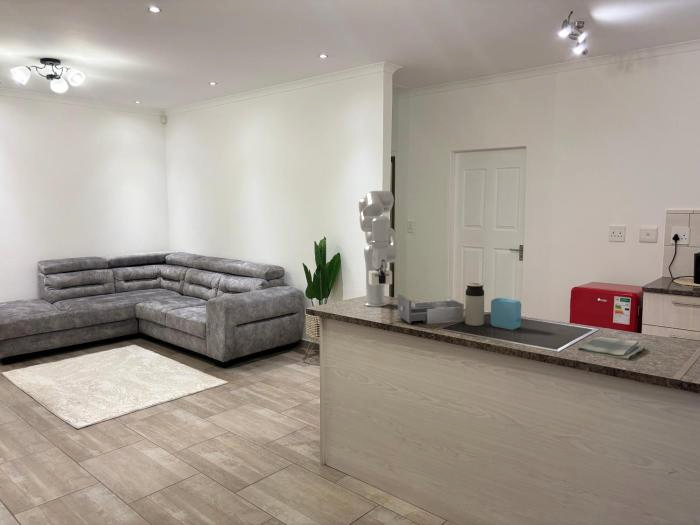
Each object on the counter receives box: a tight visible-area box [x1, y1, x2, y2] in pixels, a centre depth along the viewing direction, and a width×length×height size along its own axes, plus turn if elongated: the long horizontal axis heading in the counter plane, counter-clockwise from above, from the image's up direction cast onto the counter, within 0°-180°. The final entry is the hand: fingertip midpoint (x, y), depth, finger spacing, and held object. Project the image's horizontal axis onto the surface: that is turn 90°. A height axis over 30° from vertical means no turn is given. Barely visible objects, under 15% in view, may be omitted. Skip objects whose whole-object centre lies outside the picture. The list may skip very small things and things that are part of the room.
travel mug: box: [464, 281, 485, 327], centre depth 235 cm, size 8×8×18 cm
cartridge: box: [369, 269, 393, 286], centre depth 252 cm, size 5×10×6 cm, turn 104°
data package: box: [490, 297, 522, 331], centre depth 229 cm, size 12×4×12 cm, turn 43°
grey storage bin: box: [414, 296, 465, 325], centre depth 247 cm, size 16×18×8 cm
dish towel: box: [577, 336, 646, 361], centre depth 195 cm, size 19×18×3 cm
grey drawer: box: [397, 294, 437, 324], centre depth 244 cm, size 15×18×10 cm
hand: (380, 282), depth 253 cm, fingers closed on cartridge, 5 cm apart
